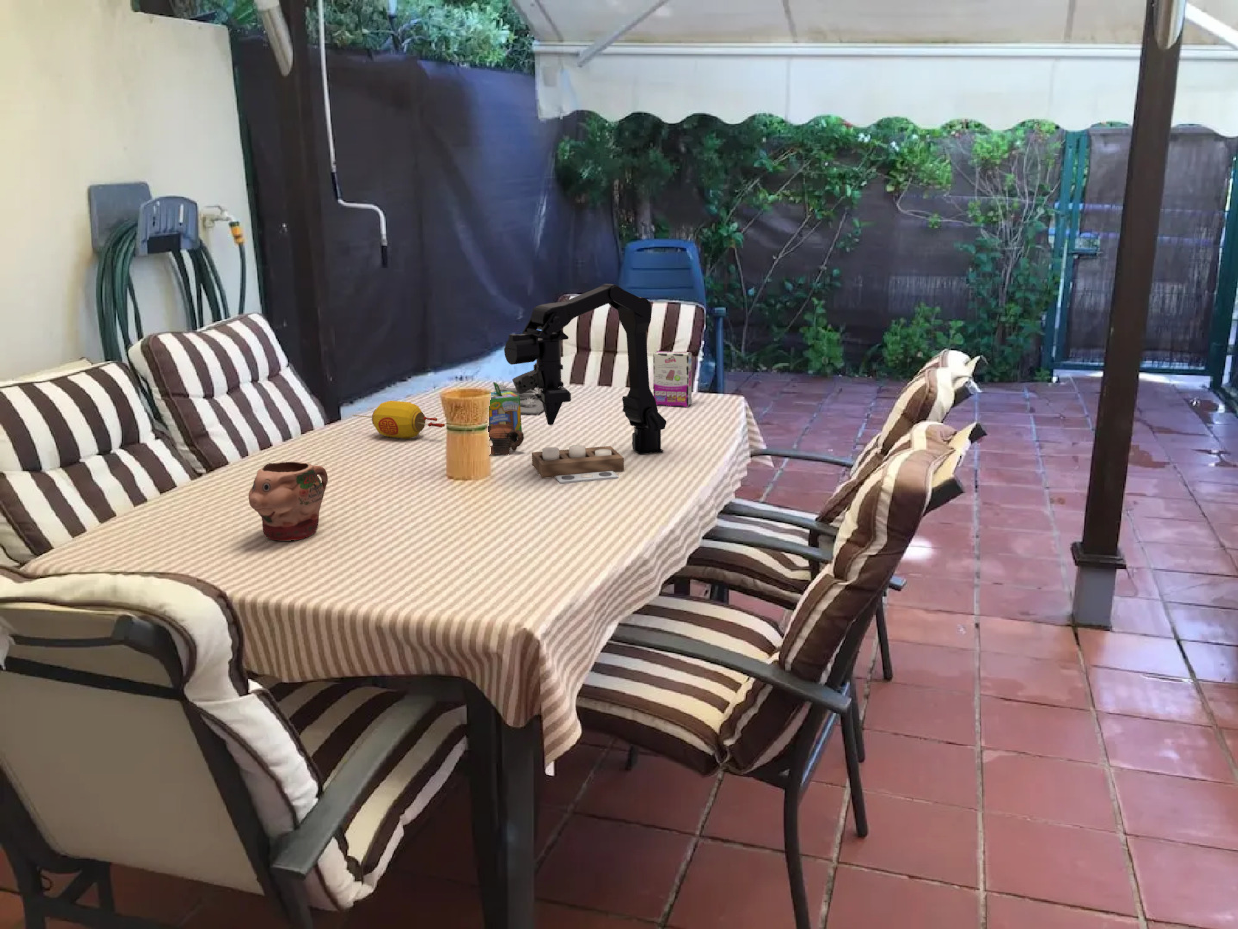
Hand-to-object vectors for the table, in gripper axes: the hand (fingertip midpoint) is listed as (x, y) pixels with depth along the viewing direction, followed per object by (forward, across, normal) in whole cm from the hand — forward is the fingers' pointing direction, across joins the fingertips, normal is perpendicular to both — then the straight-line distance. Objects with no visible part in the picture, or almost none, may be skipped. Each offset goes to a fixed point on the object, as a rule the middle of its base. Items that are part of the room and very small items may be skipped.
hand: (550, 424), depth 243 cm
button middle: (+9, 0, +6) cm, 11 cm away
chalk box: (+12, -38, -6) cm, 40 cm away
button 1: (+9, 0, 0) cm, 9 cm away
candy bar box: (+11, -60, +51) cm, 80 cm away
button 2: (+11, 0, +13) cm, 17 cm away
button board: (+11, 0, +6) cm, 13 cm away
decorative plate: (+12, -77, +6) cm, 78 cm away
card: (+11, +9, +6) cm, 16 cm away
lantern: (+11, -45, -33) cm, 57 cm away
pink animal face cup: (+12, +28, -59) cm, 66 cm away
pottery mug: (+12, -21, -8) cm, 25 cm away
